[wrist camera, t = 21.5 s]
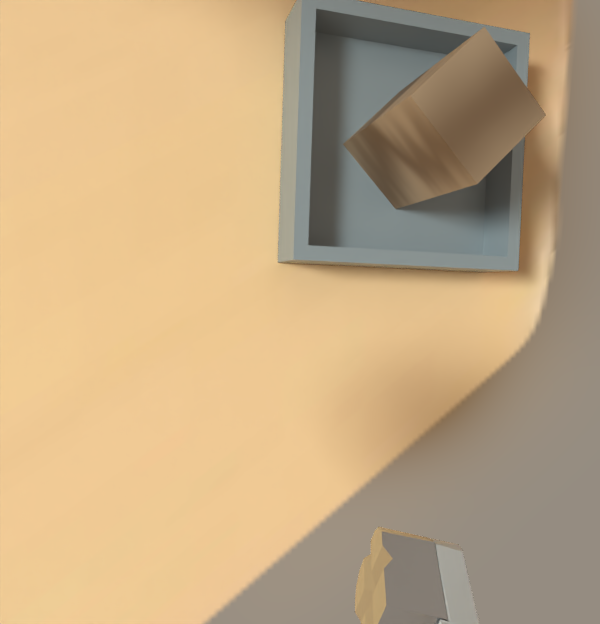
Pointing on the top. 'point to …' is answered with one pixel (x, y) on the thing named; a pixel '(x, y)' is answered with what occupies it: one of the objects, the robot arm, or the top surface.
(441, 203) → the tray
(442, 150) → the walnut block
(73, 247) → the top surface
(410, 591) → the robot arm
